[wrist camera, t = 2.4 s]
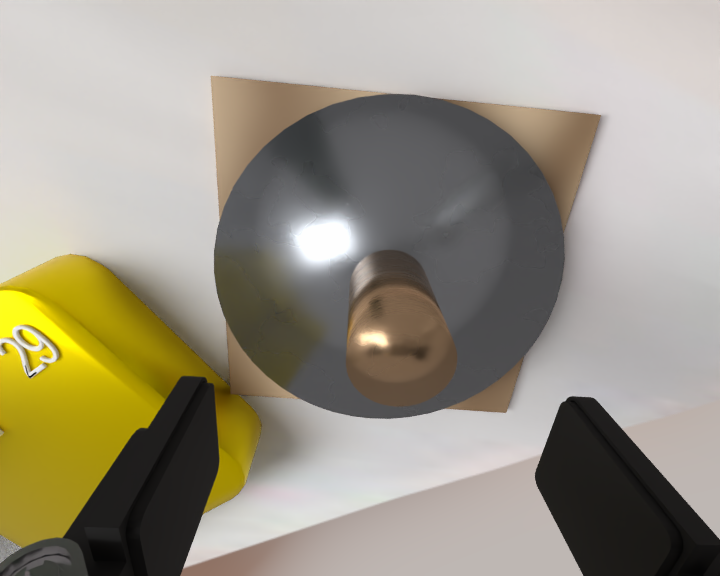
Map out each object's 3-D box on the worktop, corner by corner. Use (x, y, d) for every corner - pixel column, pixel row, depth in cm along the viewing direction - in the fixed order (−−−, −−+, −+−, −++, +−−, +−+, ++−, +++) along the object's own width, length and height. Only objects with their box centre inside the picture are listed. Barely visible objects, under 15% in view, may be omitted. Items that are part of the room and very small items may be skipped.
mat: (595, 115, 16) (600, 115, 16) (503, 408, 23) (506, 412, 23) (214, 76, 16) (210, 75, 15) (232, 389, 22) (230, 394, 22)
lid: (601, 115, 16) (767, 118, 10) (506, 412, 23) (565, 534, 16) (211, 75, 15) (102, 50, 9) (230, 393, 22) (176, 513, 16)
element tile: (115, 516, 28) (69, 592, 23) (-88, 376, 23) (-195, 440, 18) (277, 426, 24) (259, 495, 20) (81, 235, 19) (-1, 272, 15)
